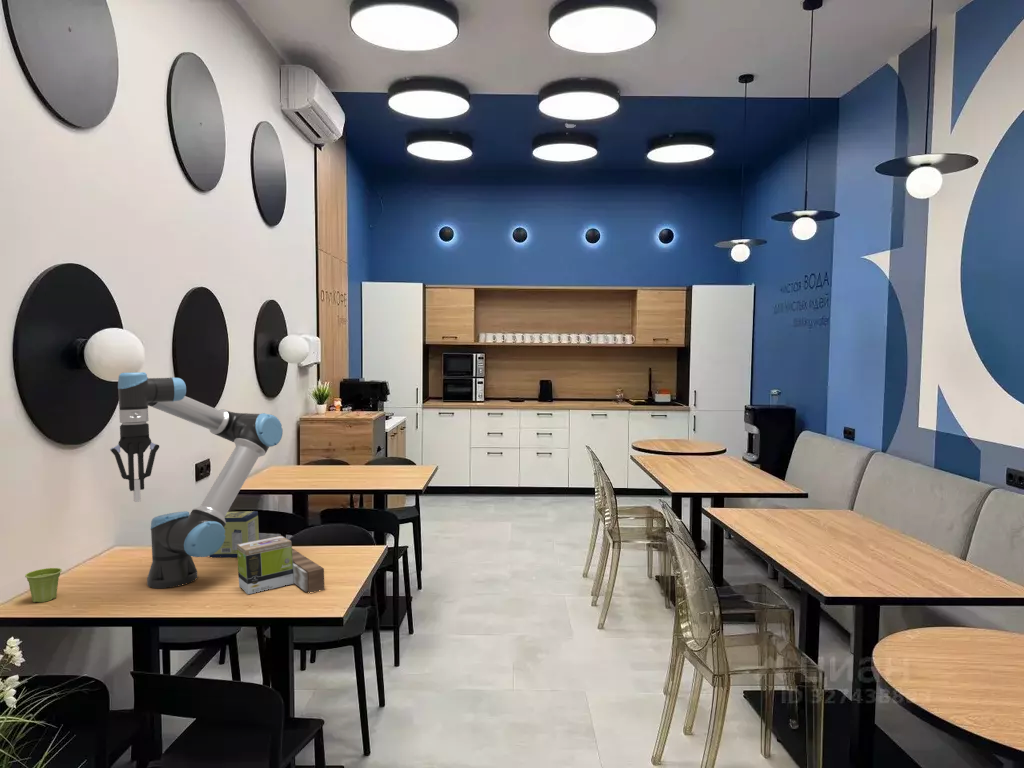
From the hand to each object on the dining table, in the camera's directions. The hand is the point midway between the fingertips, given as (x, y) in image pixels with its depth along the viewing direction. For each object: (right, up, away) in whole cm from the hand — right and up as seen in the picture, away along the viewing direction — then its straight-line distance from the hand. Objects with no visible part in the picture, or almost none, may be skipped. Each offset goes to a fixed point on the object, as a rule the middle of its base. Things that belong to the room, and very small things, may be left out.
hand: (137, 500), depth 193 cm
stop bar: (+42, -31, +23) cm, 57 cm away
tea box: (+32, -32, +17) cm, 48 cm away
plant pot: (-35, -33, +9) cm, 49 cm away
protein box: (+5, -31, +55) cm, 64 cm away
